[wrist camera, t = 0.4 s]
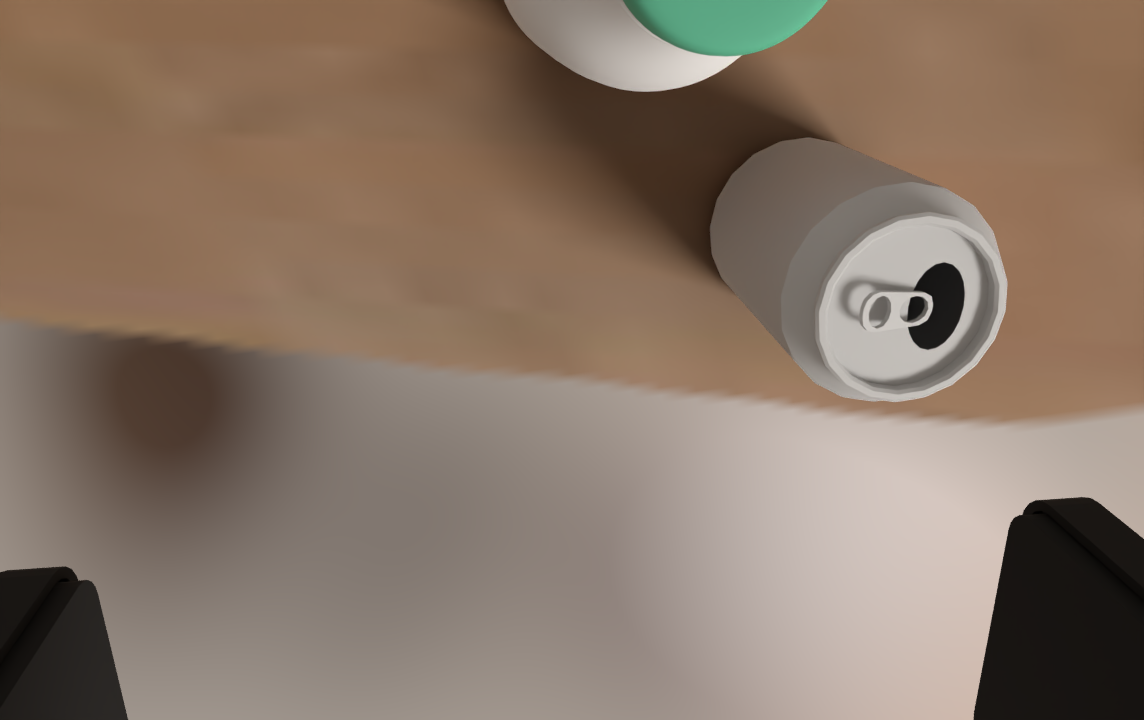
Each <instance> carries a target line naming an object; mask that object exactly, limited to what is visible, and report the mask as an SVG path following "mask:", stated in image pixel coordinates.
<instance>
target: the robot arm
mask: <svg viewBox="0 0 1144 720" xmlns="http://www.w3.org/2000/svg"><path fill="white" fill-rule="evenodd" d="M0 720H128V718H127V714H126V709H125V705H124V701H123V697H122V693H121V688H120V684H119V680H118V676H117V672H116V668H115V664H114V659H113V655H112V651H111V647H110V642H109V638H108V634H107V630H106V626H105V622H104V617H103V614H102V609H101V605H100V601H99V597H98V593H97V590H96V587H95V586H94V584H93V583H92V582H91V581H89V580H83V581H78V579H77V576H76V575H75V573H74V572H73V570H72V569H70V568H68V567H51V568H37V569H23V570H22V569H21V570H7V571H4V572H0ZM974 720H1144V539H1143V538H1142V537H1140V536H1139V535H1138V534H1137V533H1136V532H1134V531H1133V530H1132V529H1131V528H1129V527H1128V526H1127V525H1126V524H1124V523H1123V522H1122V521H1121V520H1120V519H1118V518H1117V517H1116V516H1114V515H1113V514H1112V513H1111V512H1110V511H1108V510H1107V509H1106V508H1105V507H1103V506H1102V505H1101V504H1099V503H1098V502H1097V501H1095V500H1093V499H1091V498H1085V497H1079V498H1065V499H1050V500H1036V501H1033V502H1032V503H1029V505H1028V506H1027V507H1026V508H1025V510H1024V512H1023V515H1019V516H1017V517H1015V518H1014V519H1013V520H1012V522H1011V524H1010V527H1009V530H1008V536H1007V541H1006V546H1005V552H1004V557H1003V562H1002V567H1001V573H1000V578H999V583H998V589H997V594H996V599H995V604H994V610H993V615H992V620H991V626H990V631H989V637H988V642H987V647H986V652H985V657H984V663H983V668H982V673H981V678H980V684H979V689H978V695H977V699H976V705H975V710H974Z"/></svg>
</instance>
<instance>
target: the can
mask: <svg viewBox="0 0 1144 720" xmlns="http://www.w3.org/2000/svg"><path fill="white" fill-rule="evenodd" d="M710 237H711V252H712V256H713V259H714V261H715V264H716V266H717V268H718V271H719V273H720V276H721V278H722V279H723V280H724V282H725V283H726V284H727V285H728V286H729V287H730V288H731V290H732V291H733V292H734V293H735V294H736V295H737V296H738V297H739V299H740V300H741V301H742V302H743V303H744V304H745V305H746V306H747V308H748V309H749V310H750V311H751V312H752V313H753V314H754V316H755V317H756V318H757V319H758V320H759V321H760V322H761V323H762V325H763V326H764V327H765V328H766V329H767V330H768V331H769V333H770V334H771V335H772V336H773V337H774V338H775V339H776V340H777V342H778V343H779V344H780V345H781V346H782V347H783V348H784V350H785V351H786V352H787V353H788V354H789V355H790V356H791V357H792V359H793V360H794V361H795V362H796V363H797V364H798V365H799V366H800V367H801V368H802V370H803V371H804V372H805V373H806V374H807V375H808V376H809V377H810V378H811V379H812V380H813V382H814V383H816V384H818V385H820V386H822V387H824V388H826V389H828V390H830V391H832V392H834V393H835V394H837V395H839V396H841V397H846V398H853V399H860V400H867V401H881V400H884V401H891V402H899V401H905V400H911V399H918V398H924V397H926V396H928V395H931V394H933V393H935V392H937V391H939V390H942V389H944V388H946V387H948V386H950V385H952V384H954V383H955V382H956V381H957V380H958V379H960V378H961V377H962V376H963V375H965V374H966V373H967V372H968V371H969V370H971V369H972V368H973V367H974V366H976V365H977V363H978V362H979V361H980V359H981V358H982V356H983V355H984V354H985V352H986V351H987V350H988V348H989V347H990V345H991V344H992V343H993V341H994V340H995V338H996V335H997V332H998V330H999V327H1000V324H1001V322H1002V319H1003V316H1004V314H1005V311H1006V296H1007V278H1006V275H1005V271H1004V268H1003V264H1002V260H1001V257H1000V254H999V250H998V247H997V243H996V240H995V236H994V232H993V230H992V229H991V228H990V226H989V225H988V224H987V222H986V221H985V220H984V218H983V217H982V216H981V214H980V213H979V212H978V210H977V209H976V208H975V206H974V205H972V204H971V203H969V202H967V201H966V200H964V199H962V198H961V197H959V196H957V195H956V194H954V193H953V192H951V191H949V190H948V189H946V188H944V187H941V186H939V185H937V184H934V183H932V182H929V181H927V180H924V179H922V178H920V177H917V176H915V175H912V174H910V173H908V172H905V171H903V170H900V169H898V168H896V167H893V166H891V165H888V164H886V163H884V162H881V161H879V160H876V159H874V158H872V157H869V156H867V155H864V154H862V153H860V152H857V151H855V150H852V149H850V148H848V147H845V146H843V145H840V144H838V143H836V142H830V141H825V140H820V139H815V138H810V137H807V138H800V139H793V140H786V141H780V142H778V143H776V144H774V145H772V146H770V147H768V148H766V149H764V150H761V151H759V152H757V153H755V154H754V155H752V156H751V157H750V158H749V159H748V160H747V161H746V162H745V163H744V164H743V165H742V166H740V167H739V168H738V169H737V170H736V171H735V172H734V173H733V174H732V175H731V177H730V178H729V180H728V182H727V183H726V185H725V187H724V188H723V190H722V192H721V193H720V195H719V197H718V198H717V201H716V205H715V209H714V213H713V217H712V221H711V225H710Z"/></svg>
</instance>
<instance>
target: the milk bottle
mask: <svg viewBox="0 0 1144 720" xmlns="http://www.w3.org/2000/svg"><path fill="white" fill-rule="evenodd" d="M504 2H505V4H506V6H507V8H508V10H509V12H510V14H511V16H512V17H513V19H514V20H515V22H516V23H517V25H518V26H519V27H520V29H521V30H522V31H523V32H524V33H525V34H526V36H527V37H528V38H529V39H531V40H532V41H533V42H534V43H535V44H536V45H537V46H538V47H540V48H541V49H542V50H543V51H545V52H546V53H547V54H549V55H550V56H551V57H553V58H554V59H555V60H557V61H558V62H560V63H561V64H563V65H564V66H566V67H567V68H569V69H571V70H572V71H574V72H575V73H577V74H579V75H581V76H583V77H585V78H588V79H590V80H593V81H596V82H598V83H601V84H604V85H607V86H610V87H614V88H618V89H622V90H629V91H641V92H651V91H663V90H669V89H675V88H680V87H684V86H687V85H691V84H694V83H696V82H699V81H702V80H704V79H706V78H708V77H710V76H712V75H714V74H716V73H718V72H719V71H721V70H722V69H724V68H726V67H727V66H729V65H730V64H731V63H733V62H734V61H735V60H737V59H738V58H739V57H740V56H742V55H746V54H751V53H754V52H758V51H761V50H764V49H767V48H769V47H772V46H774V45H776V44H778V43H780V42H782V41H783V40H785V39H787V38H788V37H790V36H791V35H793V34H794V33H795V32H797V31H798V30H799V29H801V28H802V27H803V26H804V25H805V24H806V23H807V22H809V21H810V20H811V19H812V18H813V17H814V16H815V15H816V14H817V12H818V11H819V10H820V9H821V8H822V7H823V5H824V4H825V3H826V2H827V0H504Z"/></svg>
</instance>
